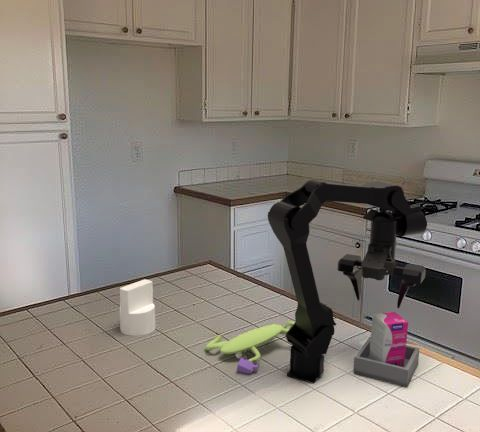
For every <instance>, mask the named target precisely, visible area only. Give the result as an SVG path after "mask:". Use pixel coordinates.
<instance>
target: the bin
mask: <svg viewBox="0 0 480 432" xmlns="http://www.w3.org/2000/svg"><path fill="white" fill-rule="evenodd" d="M370 340H371V336H368V338H367V339H366V341H365V342H364V343H363V344H362V346H361V347H360V349H359V350H358V351H357V353H356V354H355V355H354V358H353V372H352V373H353V375H357V376H361V377H365V378H369V379H372V380H377V381H379V382H384V383H388V384H391V385H396V386H398V387H402V388H408V386H409V384H410V382H411V381H412V379H413V378H412V377H413V376H414V374H415V372H416V370H417V368H418V366H419V362H420V361H419V360H420V349H421V348H419V347H416V346H413V345H412V346H411V345H407V344H406V349H405V359H404V367H400V366H396V365H392V364H388V363H384V362H379V361H375V360H371V359H369V351H370Z"/></svg>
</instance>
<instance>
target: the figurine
mask: <svg viewBox="0 0 480 432" xmlns="http://www.w3.org/2000/svg"><path fill="white" fill-rule="evenodd" d="M294 323H295V321H293V320H292V321H291V320H288V321H286V323H284V325H283V326H282V325H281V324H276V323H272V324H269V325H264V326H260V327H257V328H255V329H251V330H249V331H245V332H244V333H241V334H240V335H237V336H235V337H234V338H231V339H230V340H224V341H221V340H222V339H223V336H222V335H221V334H219V335H217V336H216V337H214V339H212V340H211V341H210V342H209V343H207V344H206V346H205V350H206V351H213V350H215V349H219V348H220V353H221V354H224V355H234V354H235V357H236V358H237V359H239V361H238V363H237V367H236V371H238V372H241V373H243V374H248V375H250V374H252V373H257V371H258V369H259V366H260V364H258V361H259V360H260V359H261V357H262V356H261V353H260V352H259V350H258V349H257V347H258V348H262V349H264V347H263V346H261V345H264V344H265V343H267V342H269V341H271V340H273V339H274V338H276V337H277V336H279V335H280V334H286V333H287V332H288V331H289V329H290V328H291V327H292V326H293V324H294ZM287 327H289V328H287ZM248 350H251V351H252V353H253V354H254V355H255V356H254V357H251V358H249V359H248V356H247V355H246V352H247V351H248Z"/></svg>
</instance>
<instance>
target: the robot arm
mask: <svg viewBox="0 0 480 432" xmlns="http://www.w3.org/2000/svg"><path fill="white" fill-rule="evenodd" d="M326 202H334V203H336V202H338V203H348V204H349V203H351V204H363V205H368V206H372V207H375V208H379V209H382V210H383V211H381V210H380V211H378V210H376V209H373V208H371V209H369V211H368V212H366V213H365V214H364V215H363V216H362V218H363V220H366V221H369V222H370V232H369V244H367V245H368V246H367V251H366V254H365V256H364V257H363V260H362V257H361V255H357V254H356V255H355V254H350V253H346V254H345V255H343V256H342V257H341V258H340V259H338V262H337V272H342V274H343V275H344V276H346V277H348V279H350V282H351V285H352V288H353V290H354V294H355V297H356V300H357V302H358V301H359V302H360V300H361V298H362V281H363V280H362V278H363V279H372V280H376V281H383V280H384V279H385V276H393V275H395V276H400V277H401V279H402V280H401V282H400V283H399V284H400V285H399V287H400V288H399V293H398V297H397V298H398V299H397V305H396V306H397V307H396V308H397V309H400V307H401V305H402V304H403V301H404V299H405V297H406V294H407V293H408V291H409V288H410V287H411V288H413V287H415V286H416V285H421V284H422V282H423V281H424V280H425V278H426V272H427V271H426V268H425V266H424V265H422V264H421V265H420V264H415V263H406V265H405V266H404V267H403V266H399V265H398V266H397V263H396V262H397V261H396V247H397V237H407V236H413V235H420V234H423V233H425V231H426V229H427V227H428V221H427V218H426V215H425V213H424V212H423V211H422V206H421V205H418V204H411V205H410V204H409V201H408V200H407V198H406V197H405V193H404V190H403V187H402V186H400V185H397V184H393V183H388V182H383V181H372V182H366V183H364V184H351V183H340V182H339V183H338V182H331V181H321V180H316V179H310V180H308V181H306V182H305V183H303V185H302V186H301V187H299V188H297V189H296V190H294V191H292V192H290V193H288V194H286V196H284V197H283V198H282V199H280V201H277V202H276V203H274V204H273V205H272V206H271V207H270V209H269V211H268V212H267V220H268V223H269V226H270V227H271V230H272V231H273V233H274V235H275V237H276V238H277V240H278V241H279V243H280V245H281V246H282V248H283V250H284V251H283V252H284V256H285V259H286V263H287V266H288V271H289V275H290V278H291V283H292V287H293V290H294V294H295V298H296V301H297V307H296V310H295V313H294V317H295V319H294V320H295V321H294V324H293V326H292V327H291V328H290V329H289V328H288V329H289V331H288V332H287V333H285V338H286V341H287V342H288V343H289V344H291V346H290V355H289V356H290V358H289V370H288V371H287V373H286V376H287V377H289V378H294V379H297V380H301V381H305V382H308V383H312V384H314V383H316V381H318V380H319V378H321V376H322V375H323V374H324V372H325V354H327V353H328V349H329V347H330V344H331V341H332V339H333V336H334V335H335V331H336V330H335V326H337V323H336V322H335V319H334V311H333V309H332V308H331V307H329V306H328V305H327V304H325V303H323V302H321V300H320V296H319V292H318V291H319V290H318V289H317V287H318V286H317V283H316V280H315V275H314V271H313V266H312V263H311V258H310V254H309V249H308V245H307V242H308V238H309V235H310V223H311V222H312V221H313V220H314V219H315V218H317V216H318V214H319V212H320V210H321V208H322V205H324V203H326ZM385 210H386V211H385ZM390 212H391V213H390Z"/></svg>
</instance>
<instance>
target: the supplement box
mask: <svg viewBox="0 0 480 432" xmlns="http://www.w3.org/2000/svg"><path fill="white" fill-rule="evenodd" d="M371 319H372V320H371V321H372V322H371V329H370V330H371V332H370V337H371V340H370V351H369V359H371V360H375V361H379V362H384V363H388V364H392V365H396V366H400V367H404V359H405V349H406V345H407V338H408V330H409V322H408V321H407V320H406V319H405V318H403V317H402V316H401V315H400V314H398V313H397V312H396V311H393V312H390V311H389V312H381V313H373V314H372V317H371Z"/></svg>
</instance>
